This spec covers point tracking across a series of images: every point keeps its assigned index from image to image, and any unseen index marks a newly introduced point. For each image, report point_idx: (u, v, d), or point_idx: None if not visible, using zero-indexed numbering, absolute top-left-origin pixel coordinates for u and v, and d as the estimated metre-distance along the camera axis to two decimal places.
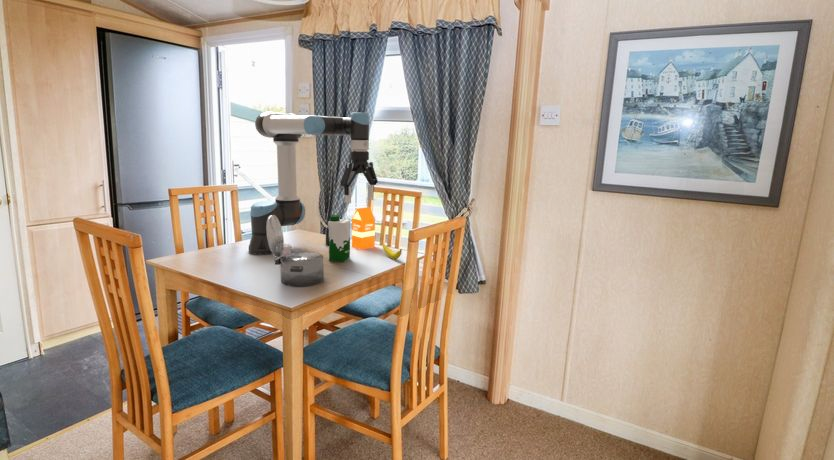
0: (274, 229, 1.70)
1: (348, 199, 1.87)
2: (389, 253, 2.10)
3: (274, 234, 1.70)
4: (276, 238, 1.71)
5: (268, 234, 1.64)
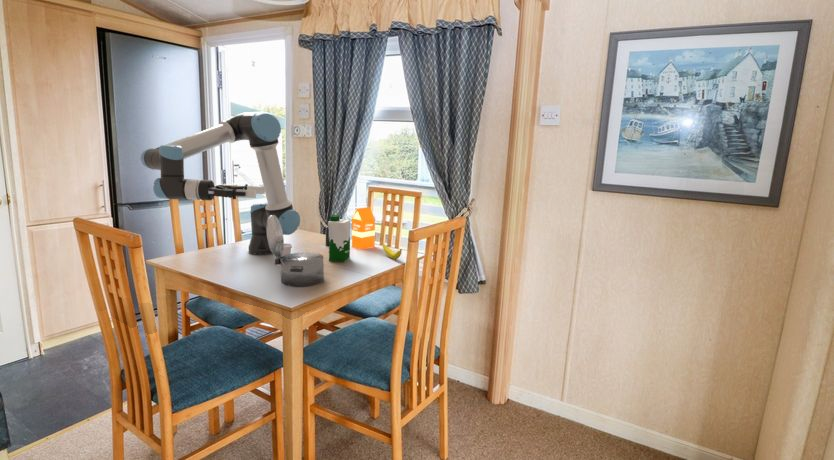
0: (274, 229, 1.70)
1: None
2: (389, 253, 2.10)
3: (274, 234, 1.70)
4: (276, 238, 1.71)
5: (268, 234, 1.64)
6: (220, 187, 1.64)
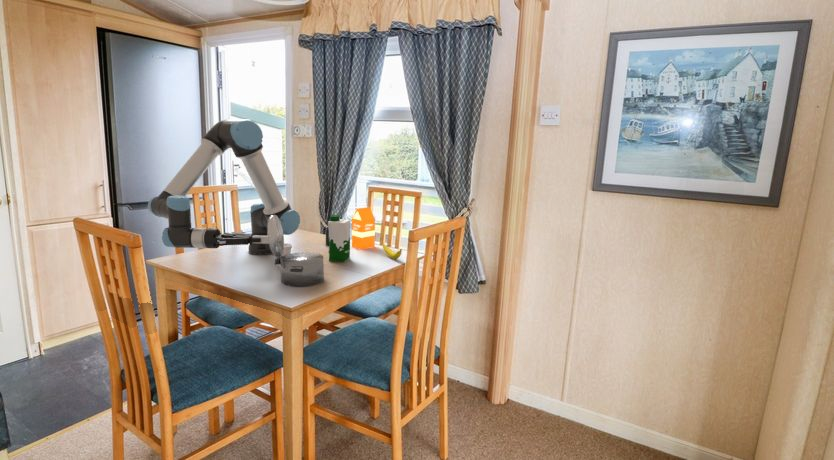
0: (275, 229, 1.70)
1: None
2: (389, 253, 2.10)
3: (275, 234, 1.70)
4: (277, 238, 1.71)
5: (269, 234, 1.64)
6: (229, 235, 1.68)
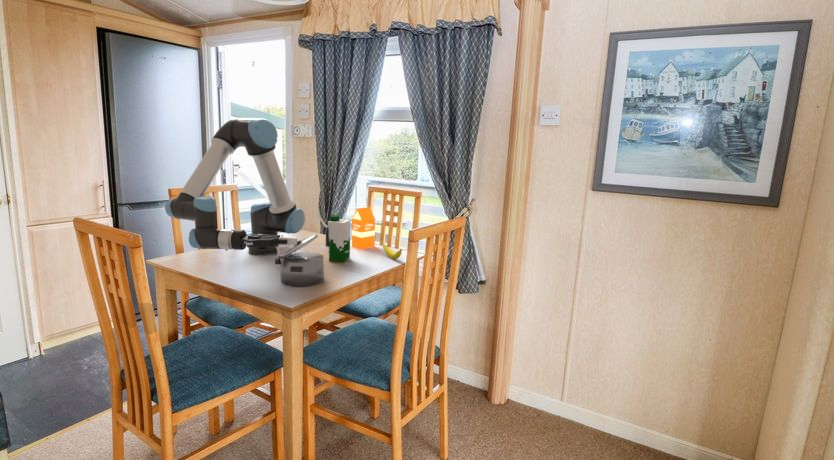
0: None
1: None
2: (389, 253, 2.10)
3: None
4: None
5: (299, 247, 1.65)
6: (256, 237, 1.68)
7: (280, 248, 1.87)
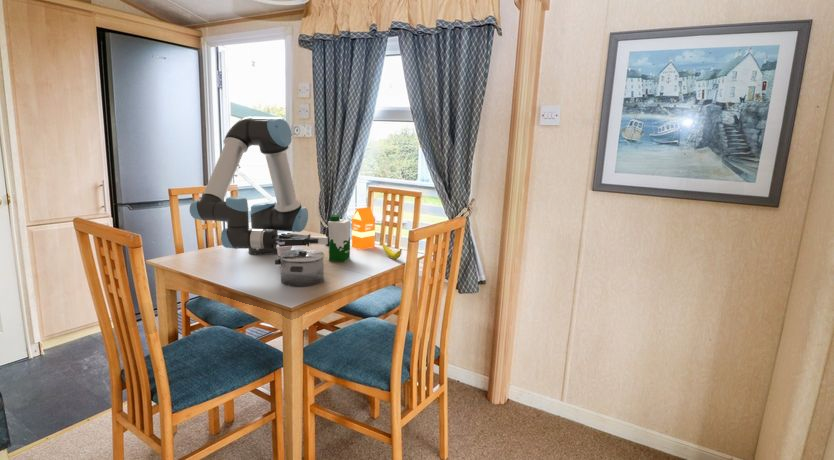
0: None
1: None
2: (389, 253, 2.10)
3: None
4: None
5: (304, 261, 1.66)
6: (287, 236, 1.70)
7: (280, 248, 1.87)
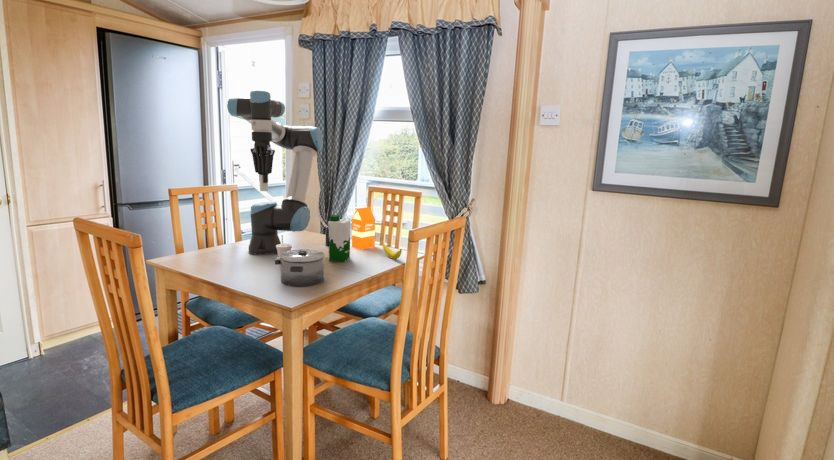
0: None
1: None
2: (389, 253, 2.10)
3: None
4: None
5: (304, 261, 1.66)
6: None
7: (280, 248, 1.87)
